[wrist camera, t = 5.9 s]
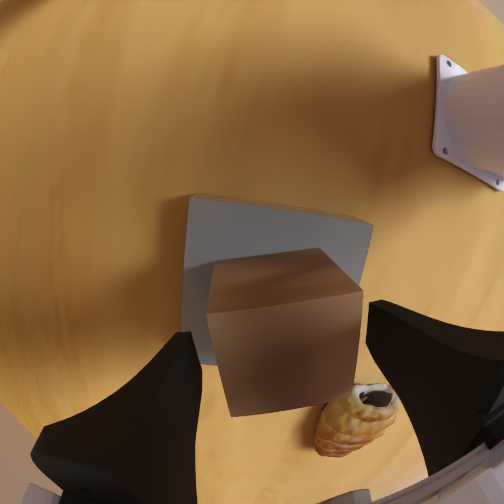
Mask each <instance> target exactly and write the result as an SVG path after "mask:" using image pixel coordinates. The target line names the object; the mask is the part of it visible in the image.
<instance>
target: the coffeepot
mask: <svg viewBox="0 0 504 504" xmlns="http://www.w3.org/2000/svg"><path fill="white" fill-rule="evenodd" d="M370 502H372V501H371V495H370V491H369V490H368V489H362V490H356V491H352V492H348V493H345V494H342V495H339V496H337V497H334V498H332V499H330V500H328V501H326V502H324V503H323V504H368V503H370Z"/></svg>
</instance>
